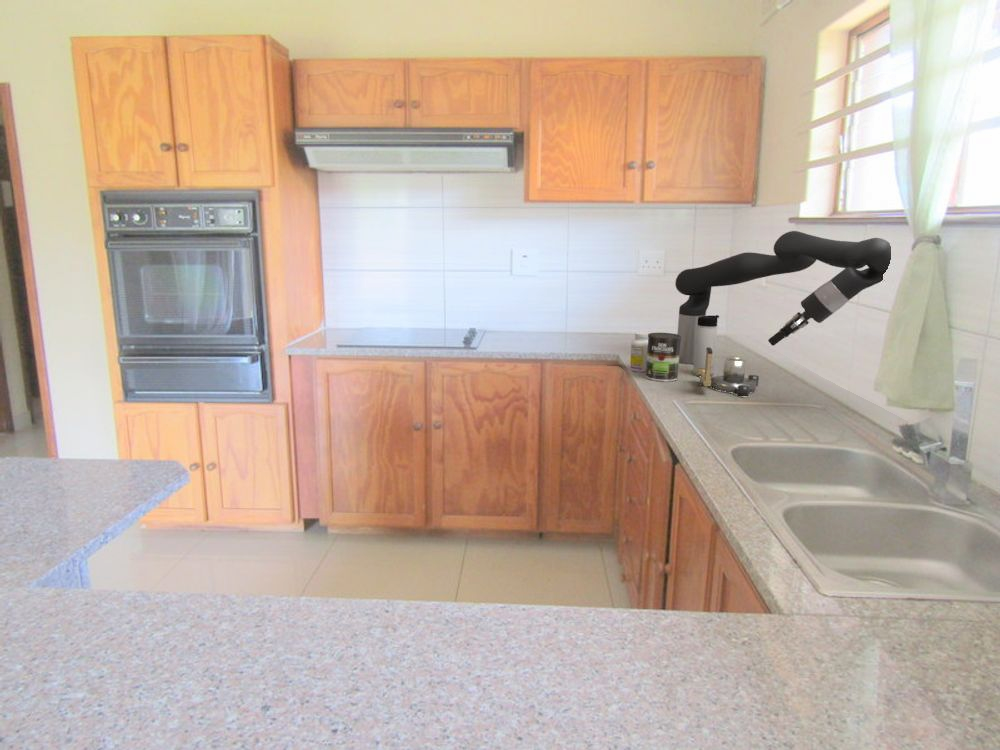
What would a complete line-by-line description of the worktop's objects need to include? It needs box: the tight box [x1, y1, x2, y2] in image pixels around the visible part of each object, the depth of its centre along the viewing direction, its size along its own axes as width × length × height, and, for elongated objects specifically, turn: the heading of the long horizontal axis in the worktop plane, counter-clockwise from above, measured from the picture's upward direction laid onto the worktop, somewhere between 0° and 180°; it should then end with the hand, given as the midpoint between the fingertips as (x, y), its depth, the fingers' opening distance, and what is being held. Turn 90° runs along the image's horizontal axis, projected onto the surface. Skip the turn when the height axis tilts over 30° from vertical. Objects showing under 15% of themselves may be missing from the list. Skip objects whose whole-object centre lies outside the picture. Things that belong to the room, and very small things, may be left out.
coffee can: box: [645, 332, 681, 383], centre depth 212 cm, size 10×10×14 cm
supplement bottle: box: [629, 331, 650, 373], centre depth 223 cm, size 7×7×13 cm
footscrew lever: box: [696, 348, 713, 387], centre depth 198 cm, size 17×4×10 cm, turn 167°
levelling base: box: [699, 355, 760, 397], centre depth 201 cm, size 19×16×10 cm
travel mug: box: [692, 314, 720, 377], centre depth 216 cm, size 6×7×20 cm
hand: (770, 342), depth 183 cm, fingers closed
